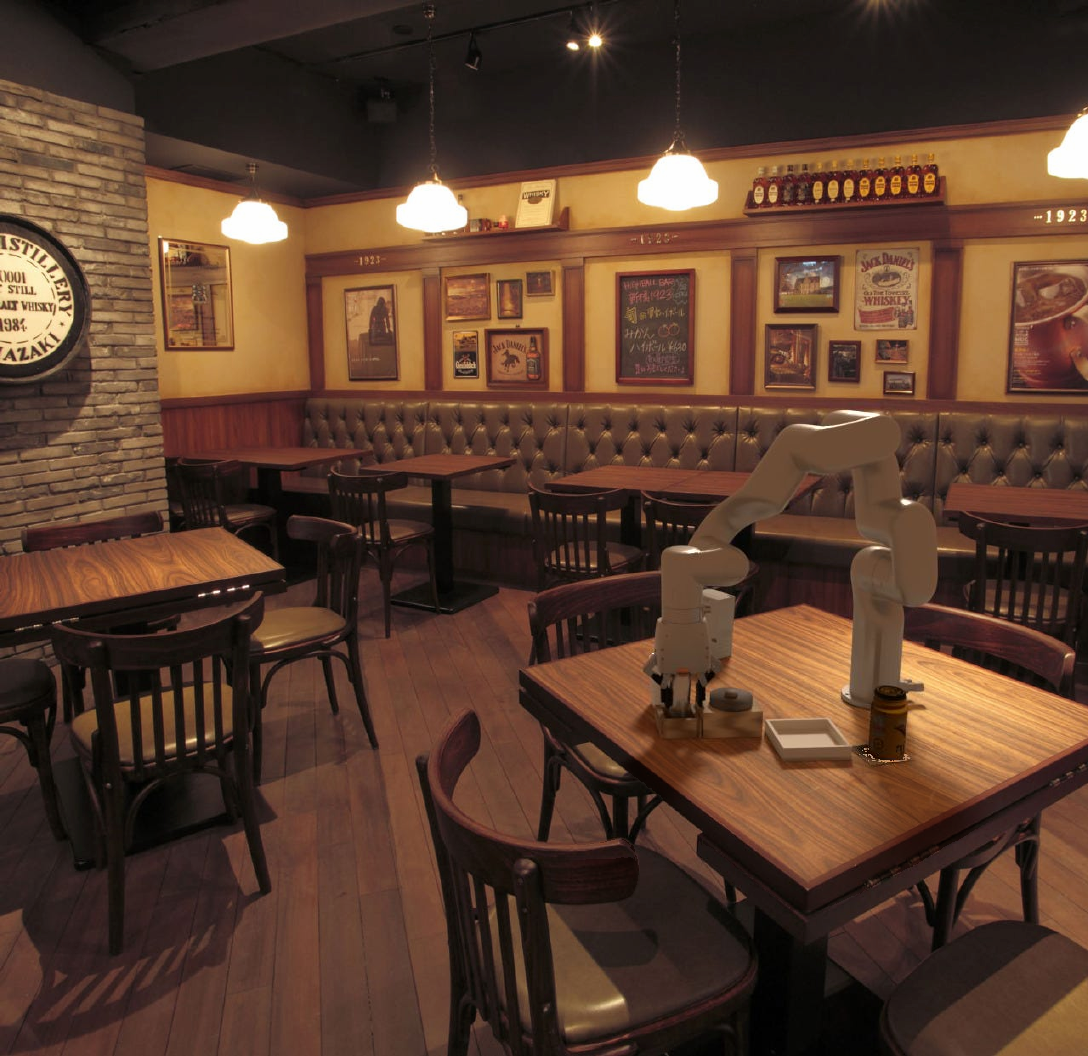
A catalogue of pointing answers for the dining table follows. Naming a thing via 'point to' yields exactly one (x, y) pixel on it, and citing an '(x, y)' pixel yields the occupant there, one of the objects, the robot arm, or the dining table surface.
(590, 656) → the dining table surface
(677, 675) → the glass shaker
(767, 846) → the dining table surface
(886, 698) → the condiment
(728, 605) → the skincare box
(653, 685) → the white cup
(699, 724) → the wooden condiment holder
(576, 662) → the dining table surface
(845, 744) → the tray
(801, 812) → the dining table surface
